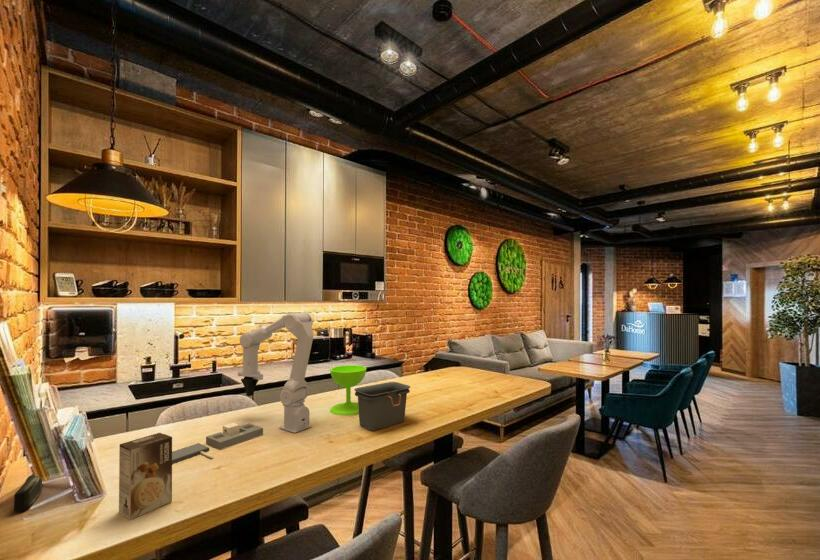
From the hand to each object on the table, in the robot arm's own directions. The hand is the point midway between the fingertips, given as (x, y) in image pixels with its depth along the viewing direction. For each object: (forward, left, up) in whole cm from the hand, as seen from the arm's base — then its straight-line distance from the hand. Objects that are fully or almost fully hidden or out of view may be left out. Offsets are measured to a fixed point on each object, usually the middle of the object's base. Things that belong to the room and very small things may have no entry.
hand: (249, 395), depth 152 cm
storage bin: (-49, -27, -10) cm, 57 cm away
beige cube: (-11, +14, -10) cm, 21 cm away
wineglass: (-24, -33, -10) cm, 42 cm away
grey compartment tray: (-14, +14, -10) cm, 22 cm away
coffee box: (-36, +50, -10) cm, 63 cm away
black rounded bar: (-8, +65, -5) cm, 65 cm away
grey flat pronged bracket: (-16, +31, -10) cm, 37 cm away
